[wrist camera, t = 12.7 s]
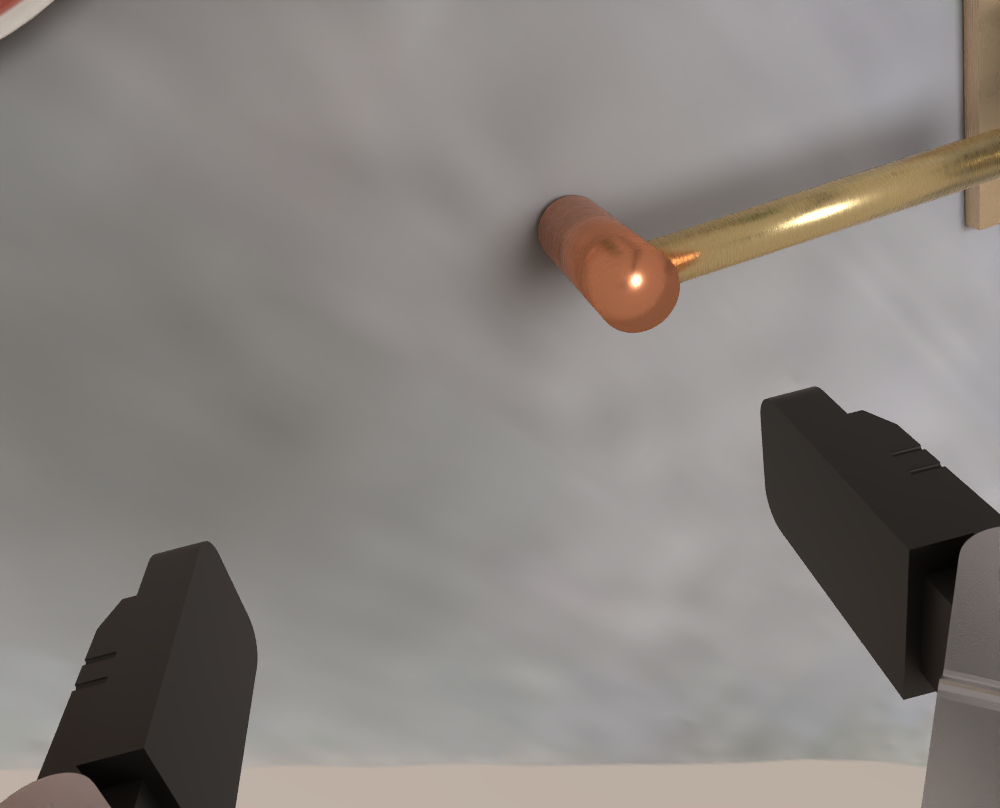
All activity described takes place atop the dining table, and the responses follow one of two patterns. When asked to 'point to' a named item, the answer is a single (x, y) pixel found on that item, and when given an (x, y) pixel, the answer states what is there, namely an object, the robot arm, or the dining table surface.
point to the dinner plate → (18, 13)
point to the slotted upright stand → (982, 99)
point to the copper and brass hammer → (742, 230)
